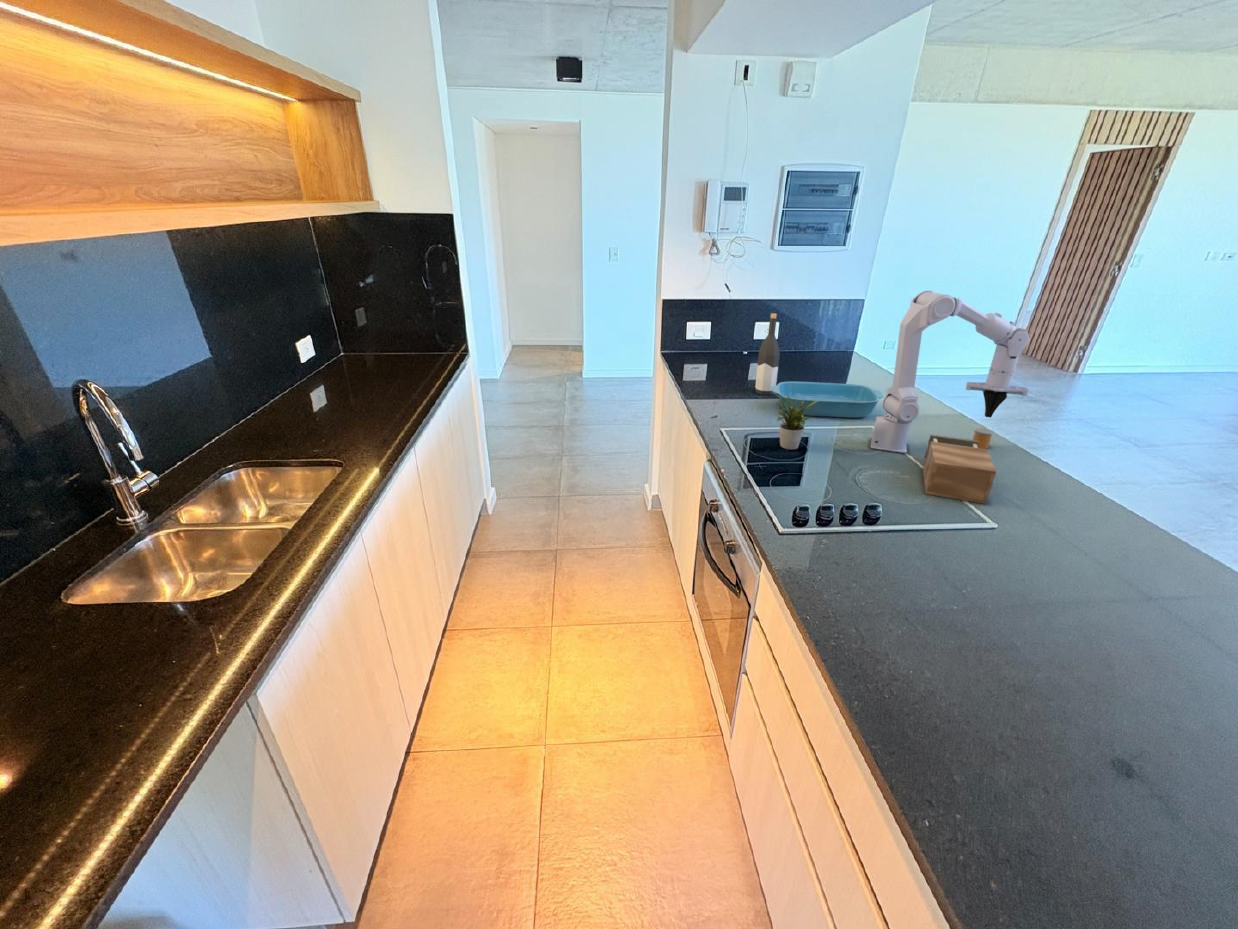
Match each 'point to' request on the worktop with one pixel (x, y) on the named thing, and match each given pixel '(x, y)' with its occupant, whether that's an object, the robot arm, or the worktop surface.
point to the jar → (983, 437)
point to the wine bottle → (768, 361)
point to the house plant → (792, 424)
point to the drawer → (951, 441)
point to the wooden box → (958, 472)
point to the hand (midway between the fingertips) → (987, 416)
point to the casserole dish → (829, 398)
